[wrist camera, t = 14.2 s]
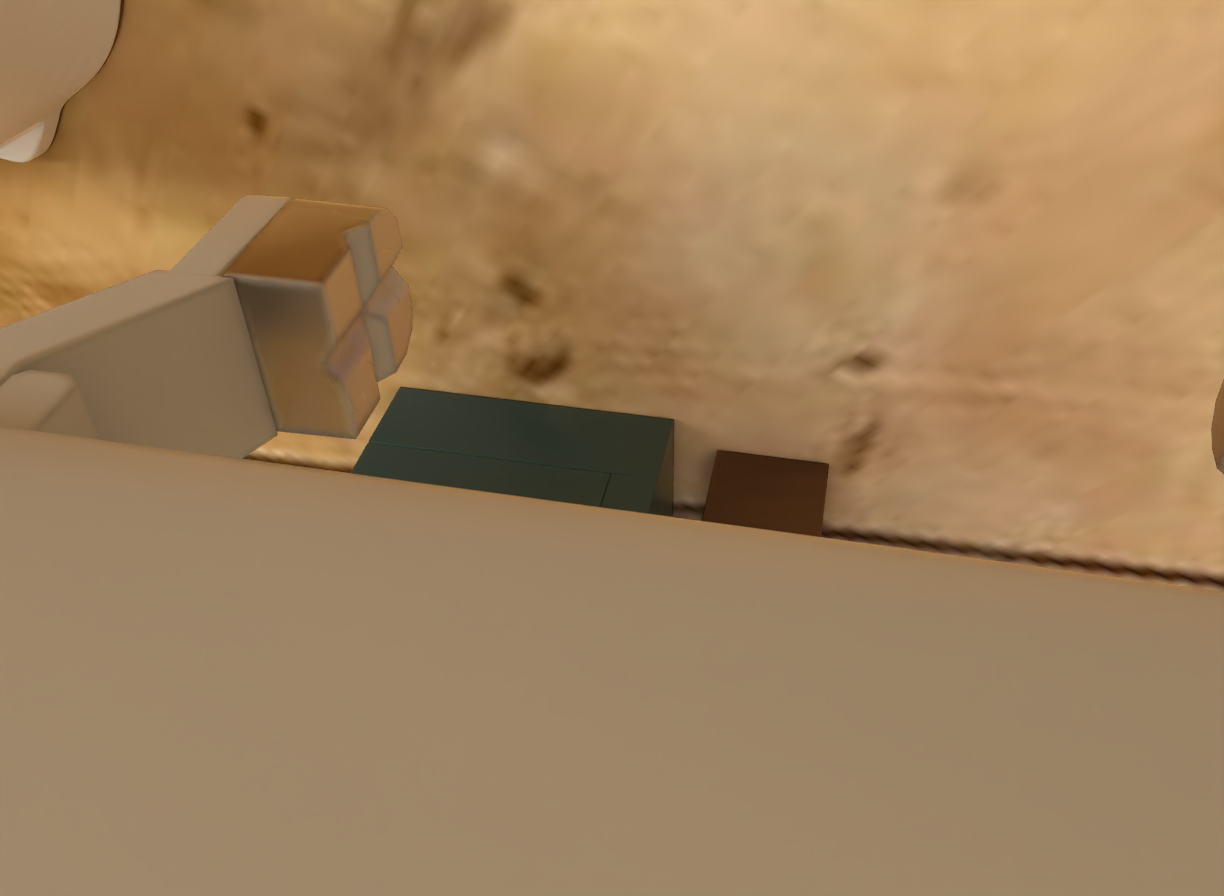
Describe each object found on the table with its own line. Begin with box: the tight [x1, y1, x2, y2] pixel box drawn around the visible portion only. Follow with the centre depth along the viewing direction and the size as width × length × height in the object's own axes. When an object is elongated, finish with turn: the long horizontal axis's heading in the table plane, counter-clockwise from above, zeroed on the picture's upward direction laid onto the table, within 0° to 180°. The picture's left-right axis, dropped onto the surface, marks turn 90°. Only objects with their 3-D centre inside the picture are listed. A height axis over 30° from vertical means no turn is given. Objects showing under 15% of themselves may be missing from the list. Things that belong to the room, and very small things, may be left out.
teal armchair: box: [351, 387, 674, 517], centre depth 54 cm, size 13×17×10 cm
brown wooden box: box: [702, 451, 829, 537], centre depth 51 cm, size 5×14×11 cm, turn 1°
